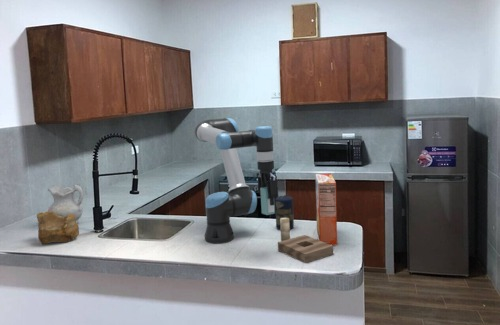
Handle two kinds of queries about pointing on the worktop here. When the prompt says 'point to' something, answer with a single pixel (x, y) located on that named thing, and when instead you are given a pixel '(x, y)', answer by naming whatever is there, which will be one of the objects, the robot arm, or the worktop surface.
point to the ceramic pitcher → (66, 201)
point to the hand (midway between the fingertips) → (268, 210)
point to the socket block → (305, 248)
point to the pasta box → (326, 208)
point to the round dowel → (285, 229)
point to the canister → (284, 210)
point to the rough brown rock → (56, 227)
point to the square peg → (265, 201)
